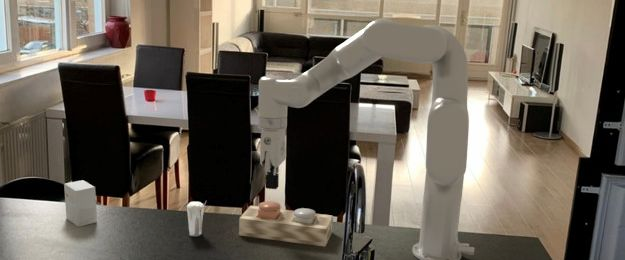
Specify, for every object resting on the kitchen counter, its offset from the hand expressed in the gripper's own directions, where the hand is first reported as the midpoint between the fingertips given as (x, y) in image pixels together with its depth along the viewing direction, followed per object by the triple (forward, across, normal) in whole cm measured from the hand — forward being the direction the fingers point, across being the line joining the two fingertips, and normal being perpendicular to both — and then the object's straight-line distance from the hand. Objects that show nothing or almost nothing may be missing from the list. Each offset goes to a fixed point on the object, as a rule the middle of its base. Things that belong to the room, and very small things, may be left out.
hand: (272, 187), depth 168 cm
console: (+13, 0, -4) cm, 14 cm away
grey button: (+12, 0, -9) cm, 15 cm away
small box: (+12, -9, +53) cm, 55 cm away
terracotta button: (+11, 0, +1) cm, 11 cm away
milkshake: (+13, -8, +19) cm, 24 cm away
